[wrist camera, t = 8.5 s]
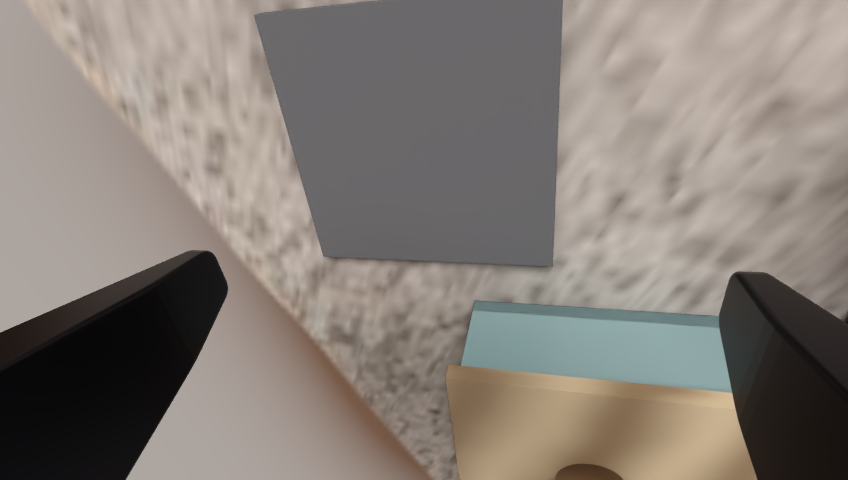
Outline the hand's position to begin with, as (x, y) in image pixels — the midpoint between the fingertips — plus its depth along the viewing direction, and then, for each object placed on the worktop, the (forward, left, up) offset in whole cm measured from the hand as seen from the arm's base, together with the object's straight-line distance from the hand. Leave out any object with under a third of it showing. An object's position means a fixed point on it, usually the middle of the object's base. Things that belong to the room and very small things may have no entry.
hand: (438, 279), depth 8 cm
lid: (-4, +18, -8) cm, 20 cm away
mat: (+4, +3, -13) cm, 14 cm away
